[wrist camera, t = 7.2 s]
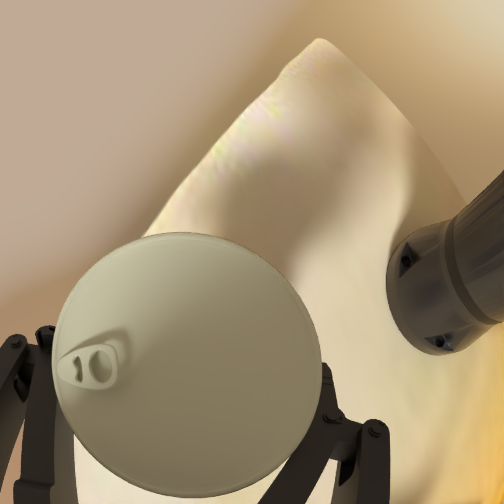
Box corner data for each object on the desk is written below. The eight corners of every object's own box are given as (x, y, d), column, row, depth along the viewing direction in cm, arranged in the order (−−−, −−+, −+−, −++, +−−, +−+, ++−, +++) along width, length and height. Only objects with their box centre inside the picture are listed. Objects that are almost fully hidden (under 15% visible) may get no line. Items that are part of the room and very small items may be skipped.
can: (135, 312, 20) (46, 241, 9) (260, 297, 21) (294, 208, 10) (151, 436, 16) (67, 495, 5) (282, 421, 17) (350, 477, 6)
